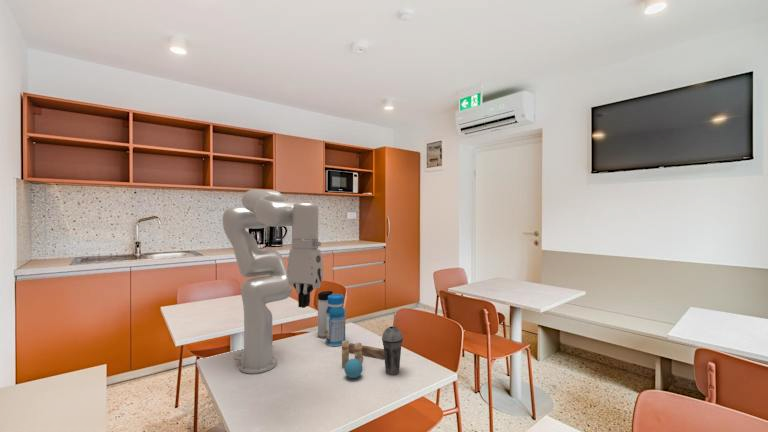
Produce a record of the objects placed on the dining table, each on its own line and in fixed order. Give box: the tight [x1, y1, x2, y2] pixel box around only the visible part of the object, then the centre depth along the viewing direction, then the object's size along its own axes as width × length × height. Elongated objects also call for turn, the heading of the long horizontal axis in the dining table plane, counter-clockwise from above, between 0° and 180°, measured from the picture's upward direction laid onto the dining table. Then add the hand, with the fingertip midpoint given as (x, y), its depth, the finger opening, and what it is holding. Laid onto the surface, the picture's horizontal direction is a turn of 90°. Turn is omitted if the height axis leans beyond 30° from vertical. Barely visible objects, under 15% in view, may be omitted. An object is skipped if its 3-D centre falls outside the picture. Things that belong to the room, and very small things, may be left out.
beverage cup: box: [381, 313, 404, 376], centre depth 115 cm, size 7×7×20 cm
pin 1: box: [341, 339, 350, 369], centre depth 119 cm, size 2×2×9 cm
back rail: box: [349, 342, 385, 361], centre depth 129 cm, size 16×2×3 cm, turn 66°
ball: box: [343, 358, 363, 379], centre depth 111 cm, size 6×6×6 cm
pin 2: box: [354, 342, 363, 365], centre depth 117 cm, size 2×2×9 cm
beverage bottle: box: [325, 293, 347, 347], centre depth 141 cm, size 8×8×20 cm
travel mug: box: [317, 290, 334, 339], centre depth 149 cm, size 6×7×20 cm
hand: (303, 306), depth 99 cm, fingers closed
